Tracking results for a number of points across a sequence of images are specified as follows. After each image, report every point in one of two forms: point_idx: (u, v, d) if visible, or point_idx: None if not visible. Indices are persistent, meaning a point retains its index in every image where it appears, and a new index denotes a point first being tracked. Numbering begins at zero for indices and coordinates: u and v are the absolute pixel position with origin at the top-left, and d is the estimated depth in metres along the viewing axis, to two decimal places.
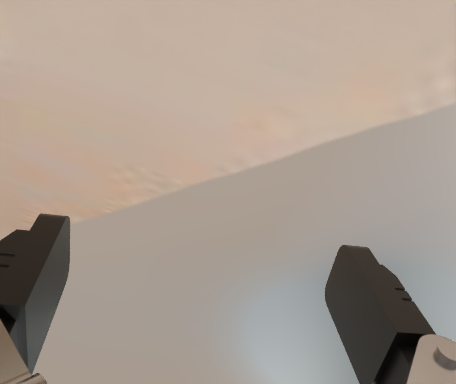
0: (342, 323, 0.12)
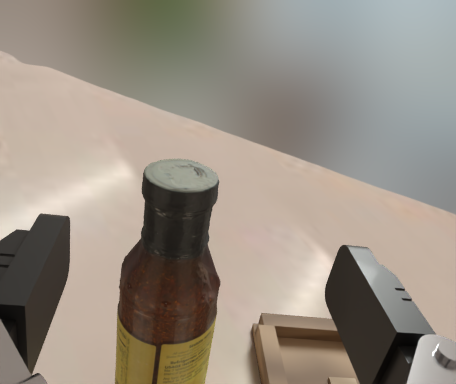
0: (342, 323, 0.12)
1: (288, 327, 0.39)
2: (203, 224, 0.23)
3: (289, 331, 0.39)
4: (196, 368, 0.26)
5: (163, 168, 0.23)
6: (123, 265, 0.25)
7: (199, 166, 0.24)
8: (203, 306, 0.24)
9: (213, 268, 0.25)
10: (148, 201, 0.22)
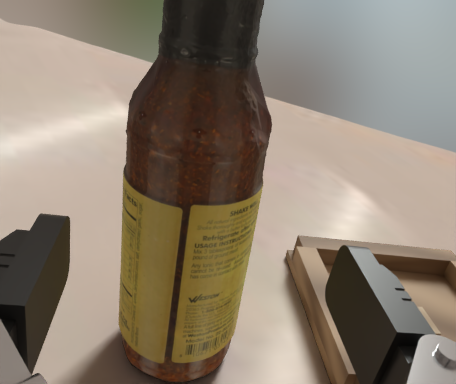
0: (342, 323, 0.12)
1: (333, 250, 0.31)
2: (255, 11, 0.15)
3: (334, 256, 0.32)
4: (237, 256, 0.18)
5: None
6: (131, 100, 0.17)
7: None
8: (251, 147, 0.16)
9: (263, 99, 0.17)
10: None
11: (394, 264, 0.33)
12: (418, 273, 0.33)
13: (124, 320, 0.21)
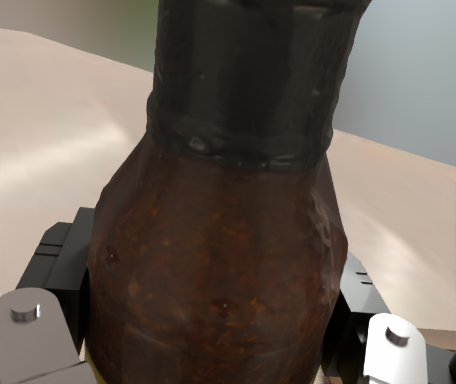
0: None
1: None
2: (342, 61, 0.07)
3: None
4: None
5: None
6: (98, 208, 0.10)
7: None
8: (320, 314, 0.09)
9: (337, 212, 0.09)
10: None
11: None
12: None
13: None
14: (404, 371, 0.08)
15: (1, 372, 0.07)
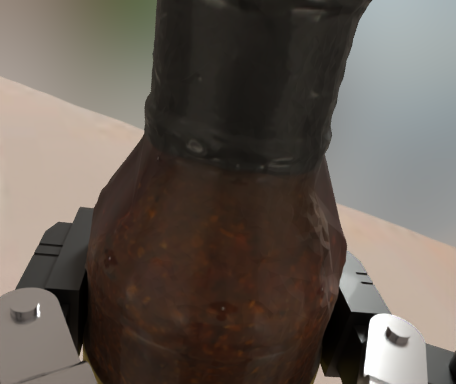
0: None
1: None
2: (340, 63, 0.07)
3: None
4: None
5: None
6: (96, 210, 0.10)
7: None
8: (319, 316, 0.08)
9: (336, 215, 0.09)
10: None
11: None
12: None
13: None
14: (404, 371, 0.08)
15: (1, 372, 0.07)
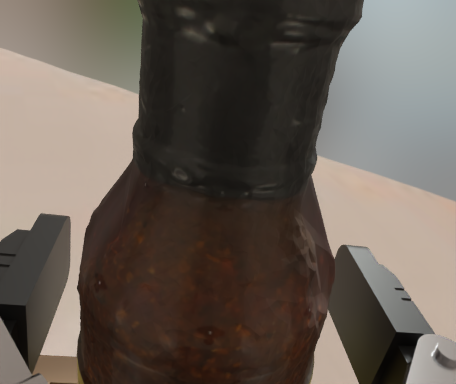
0: (342, 323, 0.12)
1: None
2: (322, 90, 0.07)
3: None
4: None
5: None
6: (88, 232, 0.10)
7: None
8: (307, 336, 0.09)
9: (324, 234, 0.09)
10: None
11: None
12: None
13: None
14: None
15: None
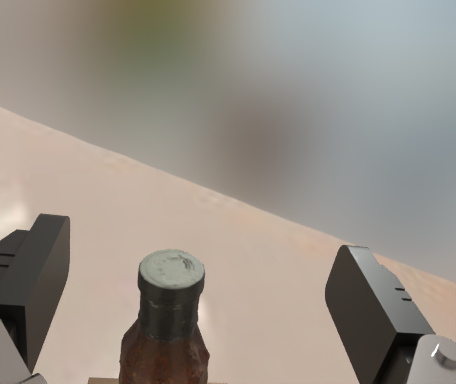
0: (342, 323, 0.12)
1: None
2: (192, 311, 0.26)
3: None
4: None
5: (156, 262, 0.26)
6: (123, 342, 0.28)
7: (188, 257, 0.27)
8: (193, 380, 0.27)
9: (202, 344, 0.28)
10: (143, 294, 0.25)
11: None
12: None
13: None
14: None
15: None
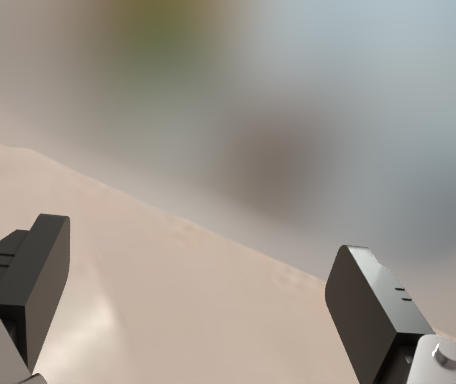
0: (342, 323, 0.12)
1: None
2: None
3: None
4: None
5: None
6: None
7: None
8: None
9: None
10: None
11: None
12: None
13: None
14: None
15: None
